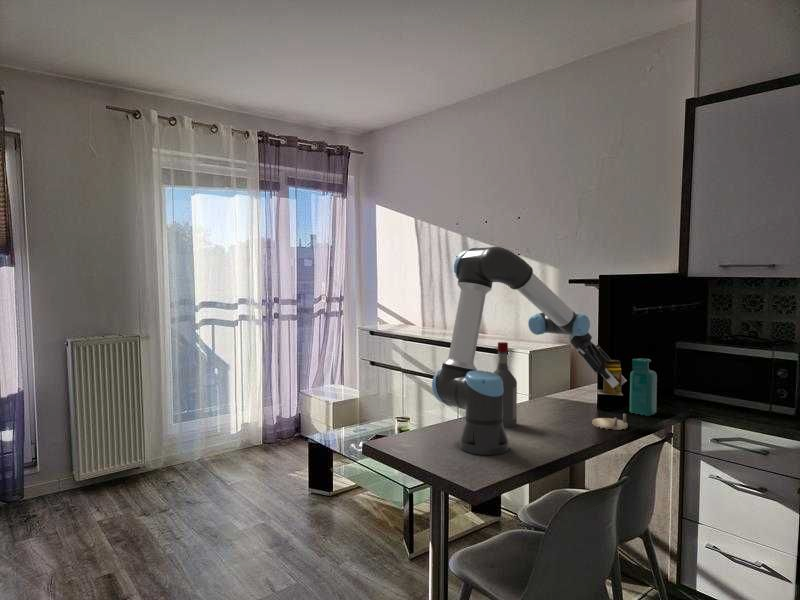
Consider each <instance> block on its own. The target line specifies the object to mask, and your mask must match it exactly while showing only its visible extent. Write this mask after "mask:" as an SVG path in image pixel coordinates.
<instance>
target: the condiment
mask: <svg viewBox="0 0 800 600" xmlns="http://www.w3.org/2000/svg"><path fill="white" fill-rule="evenodd" d="M603 367H604V368H605V369H607V370H608V371H609V372H610V373H611V374H612V376H613V377H614V378H615V379H616V380H617V381H618V382H619V384H618V385H616V386H615V387H614V388H612V387H611V385H610V384H609V383H608V382H607V381H606V380H605V378H604V377H603V376H602V377H603V380H602V381H603V382H602V383H603V385H602V387H603V389H596V390H595V391H596V392H597V394H598V395H610V396H624V394H623V393H622V385H621V375H622V368H621V360H618V359H612V360H605V366H603ZM605 369H604V370H605Z"/></svg>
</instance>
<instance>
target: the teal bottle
mask: <svg viewBox="0 0 800 600" xmlns="http://www.w3.org/2000/svg"><path fill="white" fill-rule="evenodd" d="M631 361H632V362H631V363H632V365H631V366H632V371H630V374H629V413H630V412H631V413H630V414H632V413H635V414H634V415H637V414H640V415H639V416H643V415H645V416H644V417H651V415H652V416H654V415H656V414H655V413H657V399H658V398H657V396H658V395H657V392H658V391H657V389H658V385H657V383H658V374H657V372H656V371H654V370H651V369H650V368H649V367H650V364H649V363H650V362H652V360H651V359H649V358H632V360H631Z"/></svg>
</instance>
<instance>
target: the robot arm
mask: <svg viewBox="0 0 800 600" xmlns="http://www.w3.org/2000/svg"><path fill="white" fill-rule="evenodd" d="M453 272H454V274H455V277H456V279H457V286H458V287H459V289H460V292H459V293H460V294H459V299H458V302H457V303H458V304H457V308H456V309H457V310H456V314H455V320H454V326H453V331H452V337H451V342H450V347H449V352H448V357H447V359H446V360H445V361H443V362H442V366H441V369H439V370H437V372H436V373H435V374H434V376H433V377H432V382H431V388H432V393H433V396H434V397H435V399H436V400H438V401H439V402H441V403H443V404H445V405H446V406H449V407H456V408H458V409H461V410H465V423H464V426H463V429H462V432H461V435H460V438H459V448H460V449H461V450H462V451H464V452H466V453H469V454H472V455H480V456H481V455H482V456H496V455H501V454H505V453H507V452H508V451H509V446H510V445H509V439H508V437H507V434H506V430H505V427H504V426H503V399H504V388H503V380H502V378H501V377H500V376H499V375H497V374H495V373H494V372H491V371H484V370H481V369H479V370H478V369H477V367H476V366H475V364H474V362H475V356H476V350H477V347H478V346H477V345H478V342H479V341H478V339H479V335H480V329H481V324H482V323H481V322H482V318H483V312H484V307H485V302H486V301H485V300H486V295H487V294H488V293H490V291H492V288H493V283H500V284H503V285H506V286H508V287H509V288H510V289H511V290H517V291H518V292H519V293H520V294H521V295H522V296H523V297H525V298H526V299H527V301H529V302H530V303H531V304H533V306H535V308H537V310H539V311H540V312H541V313H540V312H539V313H536V314H534V315H532V316H530V317H529V319H528V322H527V323H528V325H527V326H528V328H529V331H530V332H531V334H534V335H535V336H539V335H543V334H557V335H563V336H564V338H565V339H567V340H568V341H570V344H571V345H572V347H573V348H574V349H575V350H578V352H577V353H578V354H579V355H580V356H581V357H582V358H583V359H584V361H586V362H587V364H588V366H590V368H591V369H592V370H593V371H594V372H595V373H596V374H597V375H601V377H604V378H605V380H606V381H607V382H608V383H609V384H610V385H611V387H612V388H614V387H615V386H616V385H618V384H619V382H618V381H617V380H616V379H615V378H614V377H613V376H612V374H611V373H610V372H609V371H608V370H607V369H605V368H604V367H605V360H613V359H612V358H611V357H610V356H609V355H608V354H607V353H606V352H605V350H604V349H602V347H601V346H600V345H599V344H596V345H595V344H594V343H593V342H592V341H591V340H592V338H593V336H592V335H591V334H590V333H589V331H590V328H591V322H590V319H589V317H588V316H587V315H585V314H580V313H578V314H577V313H576V312H575V311H574V310H572V308H571V307H569V306H568V305H567V304H566V302H564V301H563V300H562V299H561V298H560V297H559V296H558V295H557V294H556V293H554V291H553V290H552V289H550V287H548V285H546V284H545V283H544V282H543V281H542V280H541V278H539V277H538V276H537V275H536V274H535V273H534V269H533V267H532V265H531V264H529V263H527V261H526V260H524V259H523V258H522V257H521V256H519V255H517V254H516V253H514V252H513V251H512V250H510V249H507V248H504V247H501V246H491V247H490V246H489V247H474V248H473V247H472V248H469V249H465V250H463V251H461V252H460V253H459V254H458V256H456V259H455V261H454V264H453ZM604 369H605V370H604ZM627 381H628V380H627V379H626V378H625V377H624V376H623V375H622V374H621V386H623V385H624V384H625V383H626V382H627Z"/></svg>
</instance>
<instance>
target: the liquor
mask: <svg viewBox="0 0 800 600" xmlns="http://www.w3.org/2000/svg"><path fill="white" fill-rule="evenodd" d="M508 352H509V345H508V342H507V341H505V342H502V341H500V342H497V367H496V369H495V370H494V371H493V373H495V374H497V375H499V376H500V377H501V378H502V380H503V388H504V399H503V426H504V428H514V427H516V425H517V419H518V418H517V413H518V412H517V410H518V409H517V408H518V407H517V406H518V405H517V403H518V401H517V399H518V395H517V394H518V392H517V389H518V382H517V379H516V377H515V375H513V374H512V373H511V370H509V366H508Z"/></svg>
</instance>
